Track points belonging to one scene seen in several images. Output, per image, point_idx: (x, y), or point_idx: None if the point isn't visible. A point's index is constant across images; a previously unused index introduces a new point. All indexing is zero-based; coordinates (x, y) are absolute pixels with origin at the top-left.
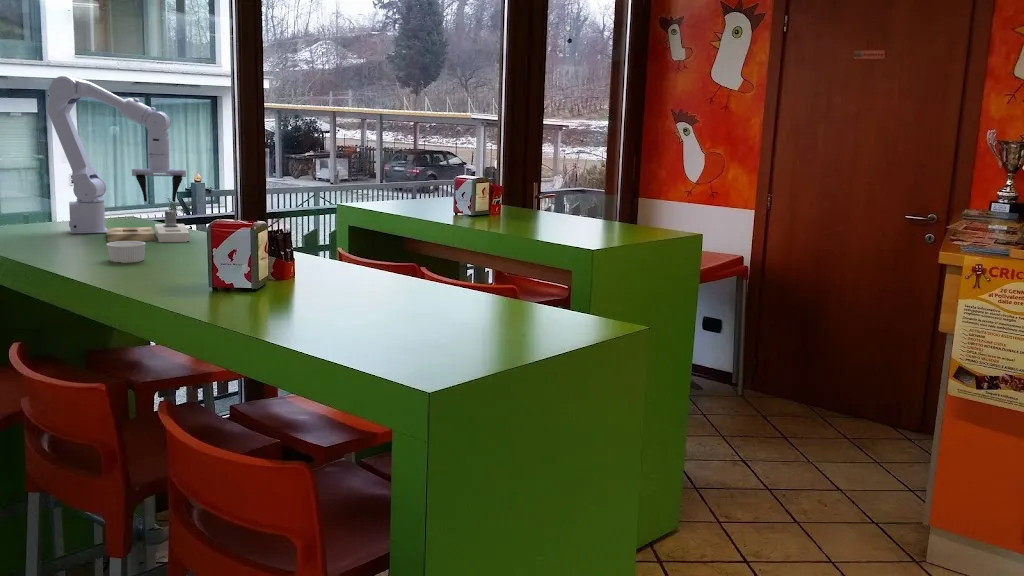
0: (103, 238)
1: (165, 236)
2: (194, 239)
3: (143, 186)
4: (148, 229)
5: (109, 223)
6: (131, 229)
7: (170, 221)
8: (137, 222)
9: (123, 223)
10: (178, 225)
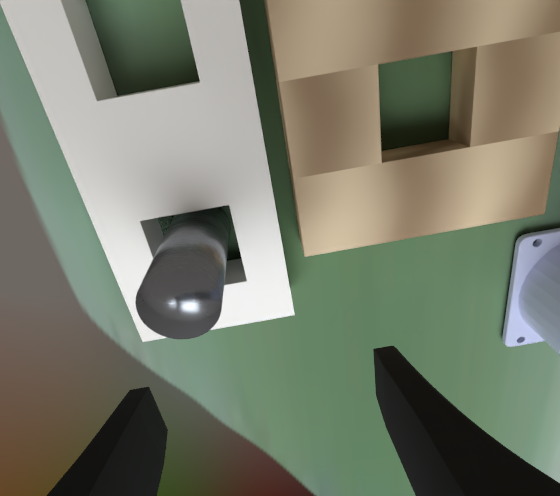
0: None
1: None
2: (10, 52)
3: (484, 464)
4: (318, 170)
5: None
6: (417, 160)
7: (183, 235)
8: (374, 493)
9: None
10: None
